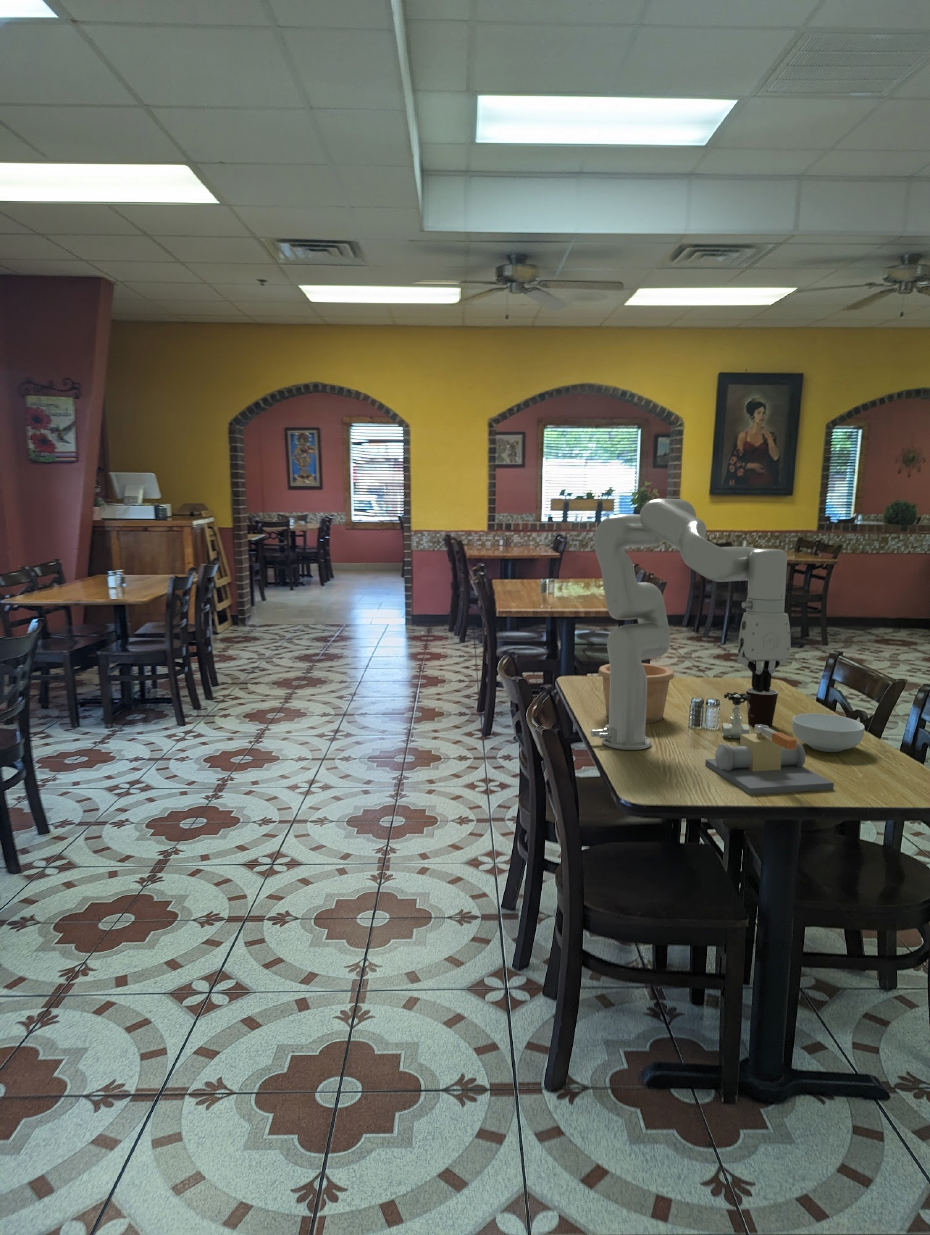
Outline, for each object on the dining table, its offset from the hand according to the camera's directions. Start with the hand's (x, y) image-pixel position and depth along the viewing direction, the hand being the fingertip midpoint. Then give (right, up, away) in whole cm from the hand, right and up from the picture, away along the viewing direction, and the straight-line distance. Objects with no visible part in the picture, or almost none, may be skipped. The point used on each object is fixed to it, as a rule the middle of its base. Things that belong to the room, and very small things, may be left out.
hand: (760, 690), depth 166 cm
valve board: (+5, -21, +10) cm, 24 cm away
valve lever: (+6, -12, +7) cm, 15 cm away
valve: (+9, -17, +41) cm, 46 cm away
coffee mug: (+22, -15, +56) cm, 62 cm away
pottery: (-13, -14, +64) cm, 66 cm away
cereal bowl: (+30, -18, +33) cm, 48 cm away
